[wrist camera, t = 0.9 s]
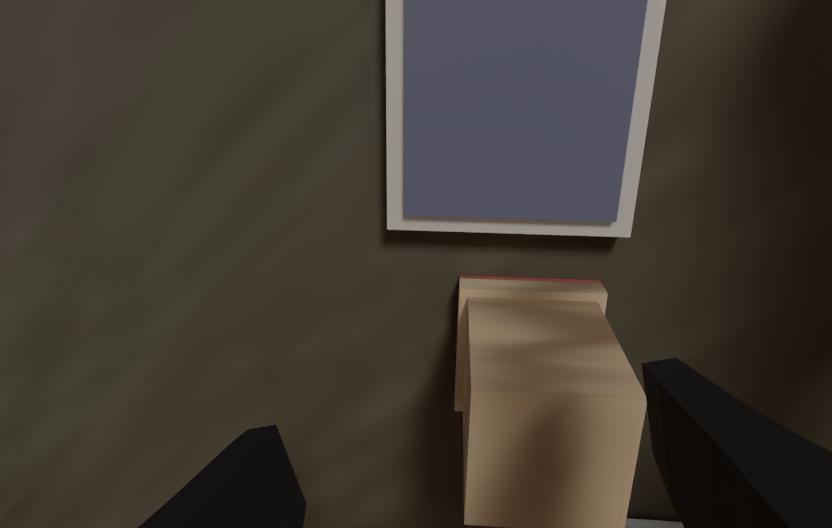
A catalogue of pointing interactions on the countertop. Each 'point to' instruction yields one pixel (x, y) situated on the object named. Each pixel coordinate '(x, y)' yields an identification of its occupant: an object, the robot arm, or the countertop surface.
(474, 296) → the stamp
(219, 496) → the robot arm
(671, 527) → the ink box
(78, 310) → the countertop surface
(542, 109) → the ink pad
